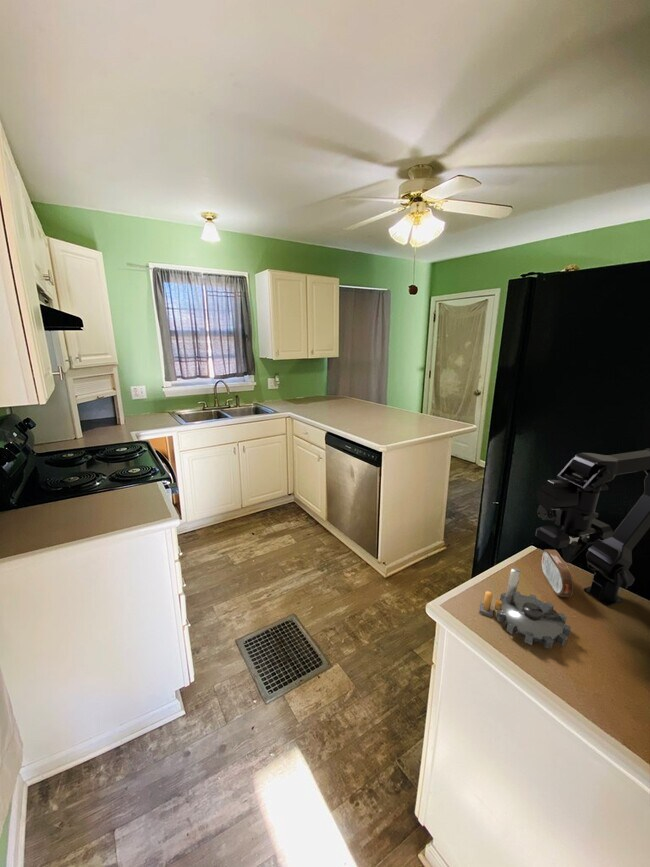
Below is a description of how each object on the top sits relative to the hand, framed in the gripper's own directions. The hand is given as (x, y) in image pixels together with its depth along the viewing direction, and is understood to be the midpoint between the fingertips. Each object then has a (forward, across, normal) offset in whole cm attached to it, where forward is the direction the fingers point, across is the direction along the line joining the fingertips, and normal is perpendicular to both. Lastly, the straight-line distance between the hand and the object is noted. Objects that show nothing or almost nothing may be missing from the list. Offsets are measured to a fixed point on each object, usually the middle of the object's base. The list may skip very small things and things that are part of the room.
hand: (567, 561), depth 90 cm
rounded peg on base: (+12, +21, -3) cm, 24 cm away
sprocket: (+11, +14, +4) cm, 18 cm away
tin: (+12, -5, -6) cm, 14 cm away
